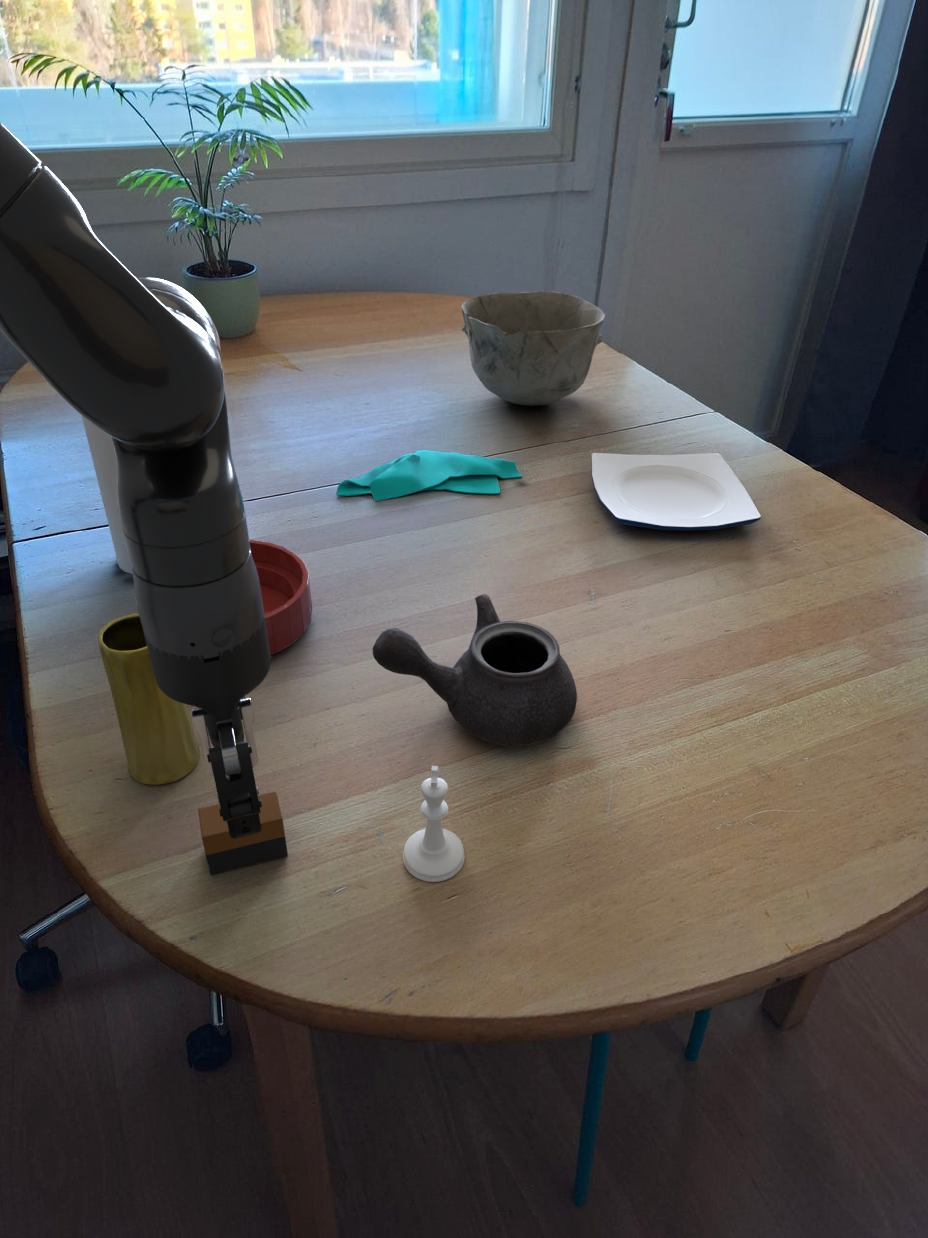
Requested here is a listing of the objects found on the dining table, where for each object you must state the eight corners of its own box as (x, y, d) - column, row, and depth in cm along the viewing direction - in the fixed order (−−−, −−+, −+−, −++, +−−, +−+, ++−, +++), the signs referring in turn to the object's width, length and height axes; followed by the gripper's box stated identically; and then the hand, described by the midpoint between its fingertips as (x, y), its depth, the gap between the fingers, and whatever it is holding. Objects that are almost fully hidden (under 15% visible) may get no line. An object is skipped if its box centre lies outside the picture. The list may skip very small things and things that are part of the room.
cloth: (511, 451, 129) (512, 436, 128) (529, 495, 119) (530, 480, 117) (335, 457, 126) (334, 442, 125) (336, 503, 115) (335, 487, 114)
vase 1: (120, 579, 100) (79, 414, 88) (115, 548, 105) (76, 388, 93) (221, 561, 103) (194, 400, 91) (211, 531, 109) (185, 376, 97)
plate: (766, 539, 111) (771, 521, 109) (607, 540, 110) (610, 522, 108) (720, 466, 127) (723, 449, 126) (581, 466, 126) (583, 449, 124)
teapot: (534, 641, 93) (541, 561, 87) (596, 739, 81) (609, 655, 75) (359, 673, 88) (354, 591, 82) (399, 783, 76) (396, 696, 70)
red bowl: (162, 684, 85) (151, 639, 82) (153, 593, 98) (143, 552, 94) (326, 653, 90) (322, 610, 87) (297, 571, 102) (293, 530, 99)
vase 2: (116, 757, 77) (78, 629, 69) (180, 727, 81) (151, 600, 72) (147, 797, 74) (111, 667, 65) (212, 763, 77) (187, 635, 69)
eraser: (210, 876, 67) (201, 837, 65) (206, 846, 70) (197, 808, 67) (288, 856, 69) (282, 818, 66) (281, 828, 71) (276, 790, 69)
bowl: (442, 383, 150) (443, 294, 141) (554, 368, 157) (562, 282, 149) (496, 434, 134) (500, 337, 125) (618, 415, 141) (631, 321, 132)
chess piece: (465, 833, 72) (468, 745, 66) (463, 883, 68) (467, 795, 62) (405, 831, 72) (403, 743, 66) (400, 881, 68) (397, 792, 62)
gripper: (137, 566, 60) (179, 737, 70) (147, 698, 49) (195, 878, 59) (247, 549, 62) (273, 717, 72) (281, 672, 51) (306, 850, 61)
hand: (238, 789), depth 65 cm, fingers open, 8 cm apart
